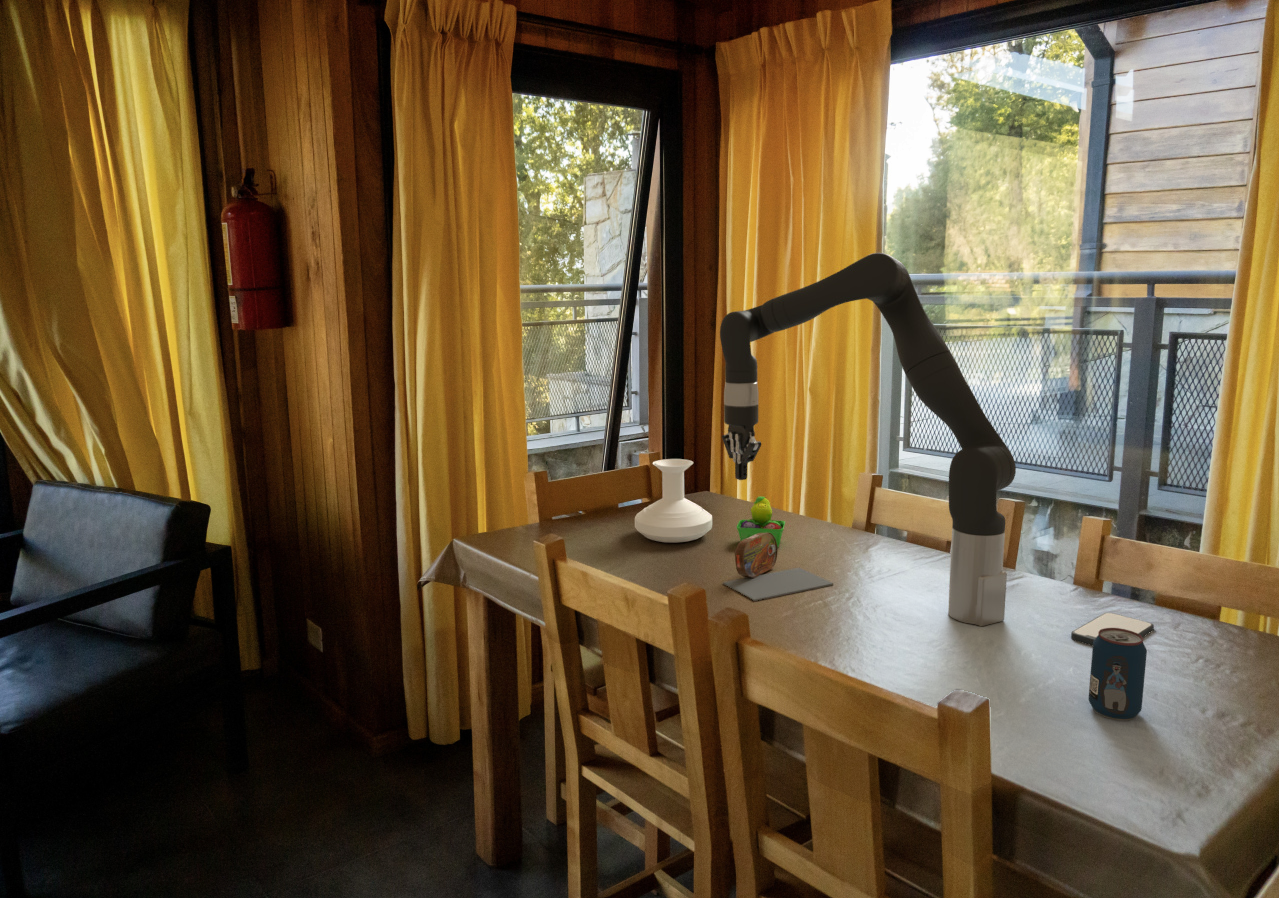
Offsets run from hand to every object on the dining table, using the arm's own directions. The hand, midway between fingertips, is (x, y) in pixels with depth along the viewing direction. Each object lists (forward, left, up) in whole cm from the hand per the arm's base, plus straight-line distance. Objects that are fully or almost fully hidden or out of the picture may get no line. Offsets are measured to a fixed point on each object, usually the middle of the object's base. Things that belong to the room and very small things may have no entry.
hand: (741, 479), depth 196 cm
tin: (-7, 0, -20) cm, 21 cm away
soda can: (-85, -11, -20) cm, 88 cm away
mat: (-15, 0, -20) cm, 25 cm away
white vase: (+28, +2, -21) cm, 35 cm away
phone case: (-66, -37, -21) cm, 78 cm away
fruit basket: (+12, -14, -21) cm, 28 cm away
